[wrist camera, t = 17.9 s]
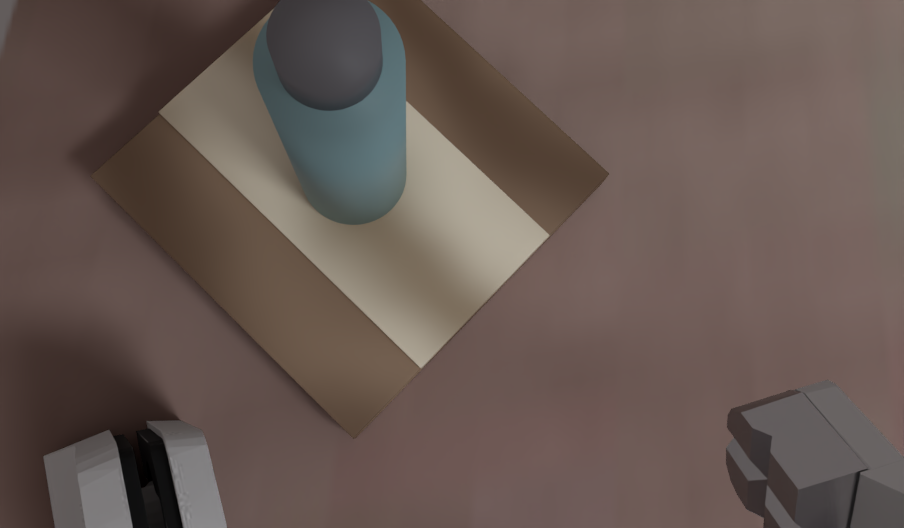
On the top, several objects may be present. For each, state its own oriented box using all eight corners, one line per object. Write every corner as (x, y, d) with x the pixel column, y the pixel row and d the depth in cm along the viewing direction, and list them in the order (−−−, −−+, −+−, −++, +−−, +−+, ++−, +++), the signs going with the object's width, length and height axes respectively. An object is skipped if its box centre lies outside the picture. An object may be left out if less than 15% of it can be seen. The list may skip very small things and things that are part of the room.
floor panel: (356, -41, 35) (354, -64, 34) (600, 184, 34) (610, 172, 32) (104, 186, 33) (88, 174, 31) (356, 438, 32) (352, 438, 30)
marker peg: (353, 103, 32) (324, -71, 21) (428, 173, 32) (439, 34, 21) (278, 174, 32) (207, 34, 20) (353, 246, 31) (323, 143, 20)
